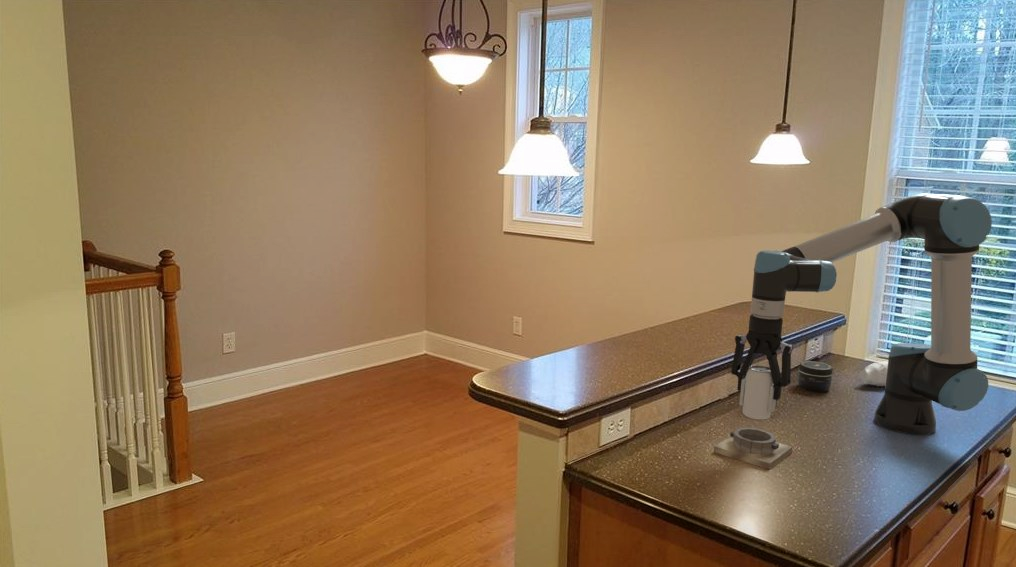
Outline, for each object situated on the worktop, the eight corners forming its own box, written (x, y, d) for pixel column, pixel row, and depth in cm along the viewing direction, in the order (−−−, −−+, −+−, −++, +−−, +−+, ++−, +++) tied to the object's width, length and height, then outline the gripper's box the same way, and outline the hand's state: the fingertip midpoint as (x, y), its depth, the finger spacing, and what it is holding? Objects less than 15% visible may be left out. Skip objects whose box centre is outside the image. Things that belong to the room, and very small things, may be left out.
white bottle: (851, 384, 242) (854, 360, 240) (894, 379, 248) (897, 356, 247) (870, 391, 234) (873, 367, 233) (915, 386, 241) (918, 363, 239)
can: (738, 411, 183) (742, 364, 181) (763, 411, 184) (768, 365, 182) (748, 420, 177) (753, 372, 175) (774, 420, 178) (779, 373, 176)
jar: (831, 386, 238) (833, 363, 237) (830, 395, 229) (832, 371, 228) (797, 381, 242) (800, 358, 241) (795, 389, 233) (798, 366, 232)
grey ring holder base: (791, 452, 183) (793, 435, 182) (769, 469, 173) (771, 451, 172) (738, 436, 192) (739, 420, 191) (713, 452, 182) (715, 434, 181)
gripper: (721, 310, 180) (713, 401, 184) (801, 325, 167) (790, 422, 171) (734, 306, 185) (726, 394, 189) (813, 320, 173) (802, 414, 177)
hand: (756, 407), depth 180 cm, fingers closed on can, 6 cm apart
